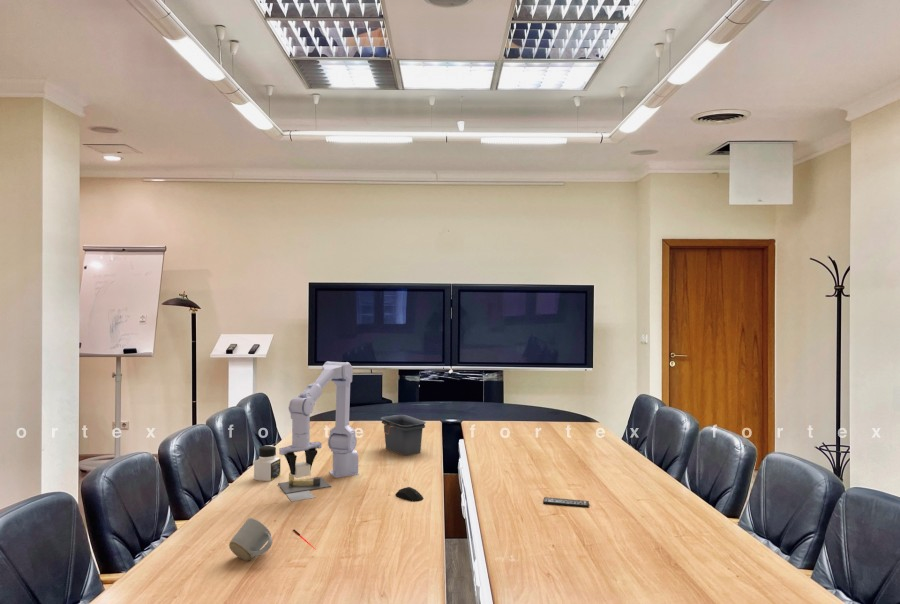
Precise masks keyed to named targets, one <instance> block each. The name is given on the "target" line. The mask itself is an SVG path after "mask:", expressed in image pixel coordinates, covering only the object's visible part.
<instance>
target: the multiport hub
mask: <svg viewBox="0 0 900 604" xmlns="http://www.w3.org/2000/svg"><path fill="white" fill-rule="evenodd" d="M589 503H590V502H589V500H582V499H568V498H558V497H549V496H548V497H547V496H545V497H543V501H542V504H543V505H552V506H565V507H573V508H574V507H576V508H586V509H587V508H589V506H590V504H589Z"/></svg>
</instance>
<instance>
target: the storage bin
mask: <svg viewBox="0 0 900 604" xmlns="http://www.w3.org/2000/svg"><path fill="white" fill-rule="evenodd" d="M380 420H381V424H383V433H384V441H385V442H384V443H385V449H387V450H390V451H392V452H395V454H396V453H397V454H399V455H401V456H404V457H405V456H406V457H407V456H410V455H416V454H417V455H418V454H420V453H421V451H422V438H423V429H424V428H426V423H427V422H426V421H424V420H423V419H422V420H421V419H418V418H416V417H413V416H409V415H406V414H396V415H395V414H394V415H389V416H382V417H380Z"/></svg>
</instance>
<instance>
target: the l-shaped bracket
mask: <svg viewBox="0 0 900 604" xmlns="http://www.w3.org/2000/svg"><path fill="white" fill-rule="evenodd" d="M320 477H321V476H315V477H313V478H314V479H310V478H306V479H304V478H303V479H302V478H301V479H300V478H297V479H295V477H294V476H292V475H290V472H289V474H288V482H289V486H300V485H313V486H320Z"/></svg>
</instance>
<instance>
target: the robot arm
mask: <svg viewBox="0 0 900 604" xmlns="http://www.w3.org/2000/svg"><path fill="white" fill-rule="evenodd" d="M353 369H354V367H353V366H352V365H351V363H350V362H348V361H346V362H344V361H343V362H342V361H329V360H327V361H325V362H324V364H323V365H322V367H321V373H320V374H319V375H318V377H317V378H316V380H315V381H314V382H312V383H311V382H310V383H308V384H307V385H306V387H305V388H304V389H303V391H302V392H301V393H300V394H299V395H298V396H296V397H293V398H292V399H291V400H290V402H289V404H288V411H289V414H290V419H291V420H292V422H291V423H292V426H291V427H292V431H291V434H292V435H291V438H292V439H291V445H288V446H287V445H286V446H285V447H280V448H279V449H278V450H279V455H281V456H284V458H285V460H286V461H287V465H288V467H289V471H290V472H291V474H292V475H295V464H296V463H297V458H298V456H297V455H296V454H295V453H298V452H299V453H300V452H304V454H305V462H306V463H308V464H310V465H311V468H312V466H313V464H314V460H315V458H316V456H317V455H318V450H319V449H322V446H323V445H322V442H320V441H316V442H313V441H312V442H310V435H311V434H310V432H311V431H310V422H311V421H310V418H311V417H310V414H311V413H312V412H313V411H314V406H315V404H316V402H317V400H318V399H319V398H320V397H321V396H322V394H323V391H322V390H323V389H324V388H325V387H326V386H327V385H328V384H329V382H333V383H334V385H335V387H336V392H335V395H336V398H335V426H334V427H332V428H331V429H330V430H329V436H328V439H327V446H328V448H329V449H330V452H332V470H330V471H329V474H330V475H331V476H332V477H333V478H335V479H336V478H345V477H351V476H356V475H360V473H359V454H358V451H357V450H356V446H357V437H356V430H355V429H354V428H353V427H351V425H350V408H351V407H350V401H351V400H350V399H351V383H352V382H353V372H354V370H353ZM317 449H318V450H317ZM290 472H289V473H290Z"/></svg>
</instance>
